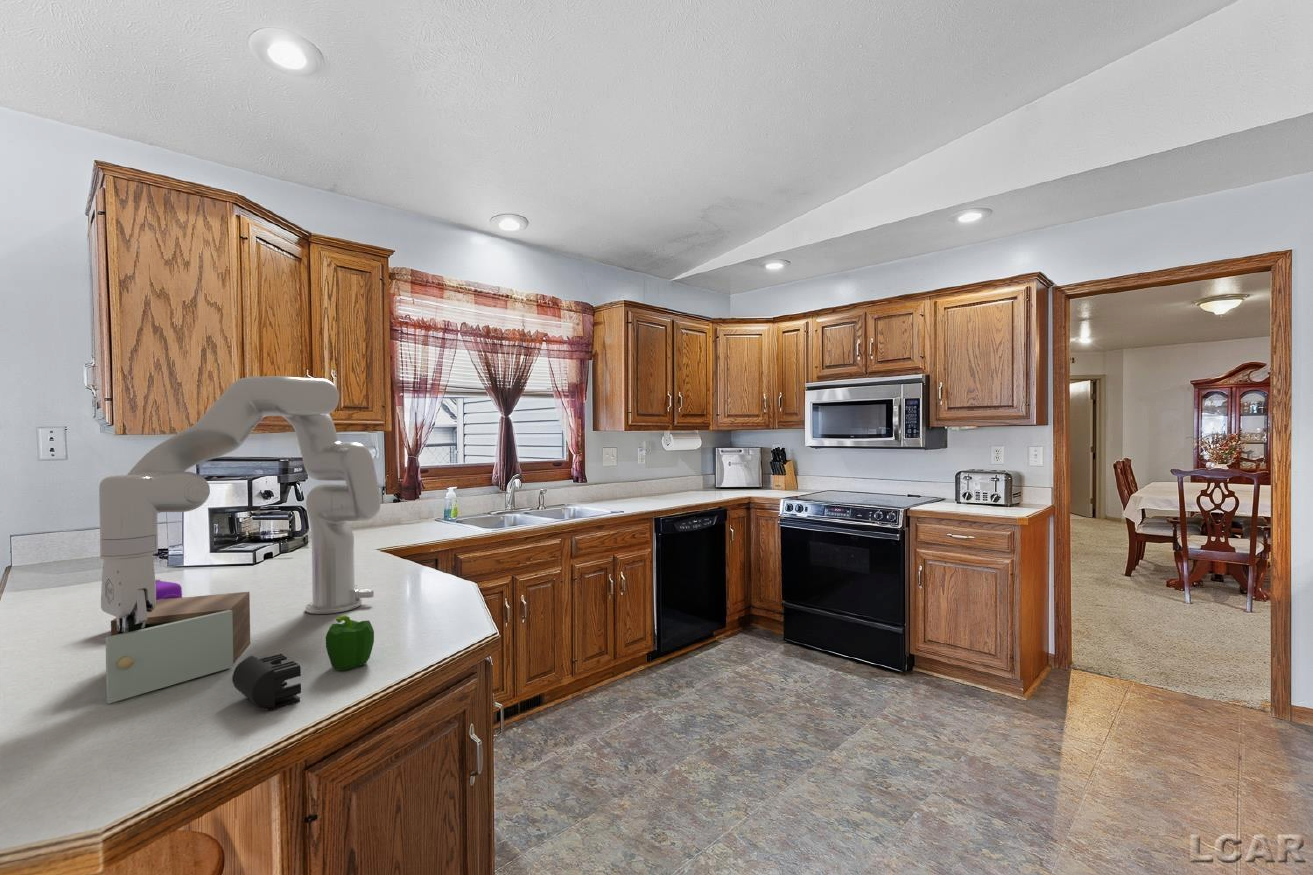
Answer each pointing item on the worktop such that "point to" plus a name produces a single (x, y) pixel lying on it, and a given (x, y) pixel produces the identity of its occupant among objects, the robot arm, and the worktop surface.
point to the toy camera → (167, 590)
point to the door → (167, 654)
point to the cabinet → (202, 606)
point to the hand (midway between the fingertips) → (131, 652)
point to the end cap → (268, 681)
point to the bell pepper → (349, 643)
